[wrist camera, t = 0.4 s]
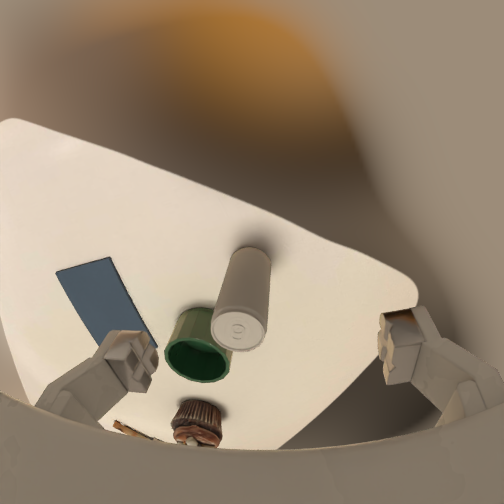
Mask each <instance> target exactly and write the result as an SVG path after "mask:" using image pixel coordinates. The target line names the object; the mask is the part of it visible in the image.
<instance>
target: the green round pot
mask: <svg viewBox="0 0 504 504" xmlns="http://www.w3.org/2000/svg"><path fill="white" fill-rule="evenodd" d="M213 312H214V310H212V309H207V308H194V309H190V310H187V311H186V312H184V313H183V314H182V315H181V316H180V317H179V319H178V321H177V323H176V325H175V327H174V330H173V332H172V334H171V336H170V339H169V341H168V343H167V346H166V348H165V350H164V354H165V360H166V362H167V363H168V365H169V366H170V368H171V369H172V370H173V371H175V372H176V373H177V374H178V375H180V376H182V377H184V378H186V379H188V380H191V381H195V382H201V383H210V382H216V381H219V380H221V379H223V378H224V377H225V376H226V375H227V374H228V373H229V370H230V365H231V360H232V355H233V351H231V350H228V349H226V348H223V347H222V346H220V345H219V344H218V343H217V342H216V341H215V340H214V339H213V336H212V334H211V320H212V316H213Z"/></svg>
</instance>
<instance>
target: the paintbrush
mask: <svg viewBox="0 0 504 504" xmlns="http://www.w3.org/2000/svg"><path fill="white" fill-rule="evenodd" d="M113 427H114V428H116V429H118V430H121V431H122V432H123V433H125V434H127V435H130V436H134V437H139V438H144V439H148V438H146V437H144V436H142V435H140V434H138V433H136V432H135V431H133V430H131V429H129V428H127V427H125V426H123V425H121V424H120V423H119V422H117V421H115V423H114V424H113ZM149 440H150V439H149ZM152 440H155V441H159V440H157V439H156V438H153V439H152Z"/></svg>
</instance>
